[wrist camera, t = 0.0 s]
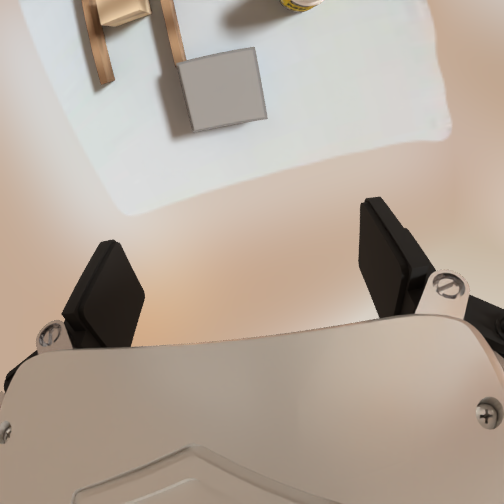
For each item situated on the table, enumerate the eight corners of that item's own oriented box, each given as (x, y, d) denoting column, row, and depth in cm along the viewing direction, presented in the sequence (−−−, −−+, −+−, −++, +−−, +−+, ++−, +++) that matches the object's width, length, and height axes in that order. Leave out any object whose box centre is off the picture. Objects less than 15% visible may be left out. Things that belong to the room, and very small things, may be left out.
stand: (182, 62, 33) (175, 63, 29) (253, 47, 32) (254, 46, 28) (197, 125, 38) (192, 133, 34) (265, 112, 37) (267, 119, 34)
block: (110, -4, 26) (94, -8, 22) (145, -17, 25) (132, -25, 21) (116, 26, 29) (101, 25, 25) (152, 13, 28) (139, 9, 24)
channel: (86, -17, 23) (78, -20, 21) (202, -58, 22) (199, -63, 20) (110, 88, 34) (102, 91, 32) (226, 55, 32) (225, 56, 30)
